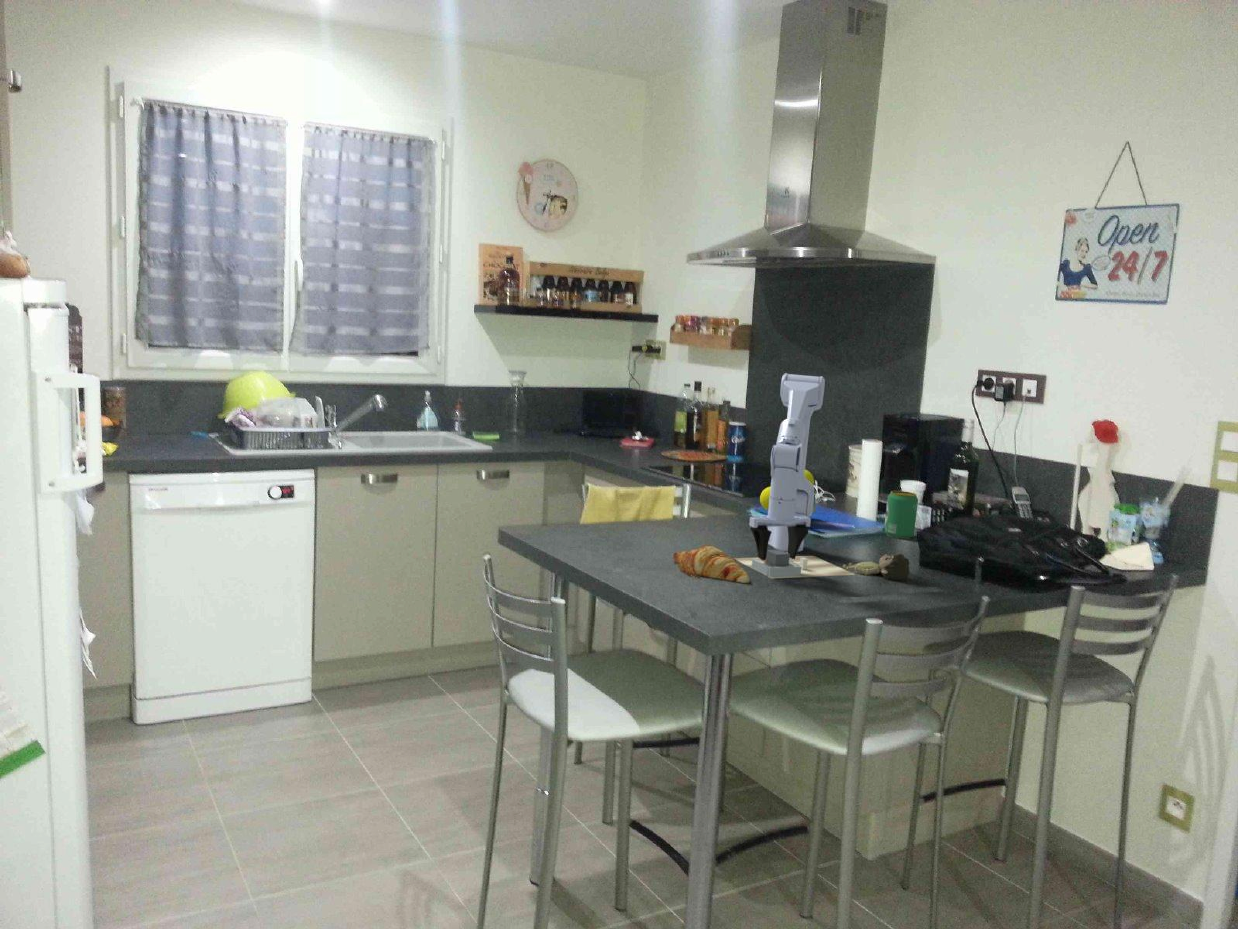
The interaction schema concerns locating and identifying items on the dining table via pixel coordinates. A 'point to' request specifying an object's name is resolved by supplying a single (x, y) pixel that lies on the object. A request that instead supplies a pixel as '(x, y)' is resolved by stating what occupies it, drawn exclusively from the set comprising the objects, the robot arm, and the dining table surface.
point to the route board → (814, 567)
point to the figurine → (884, 567)
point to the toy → (766, 492)
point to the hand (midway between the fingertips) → (776, 558)
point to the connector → (777, 558)
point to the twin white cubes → (801, 563)
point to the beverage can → (901, 514)
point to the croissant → (711, 564)
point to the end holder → (776, 569)
